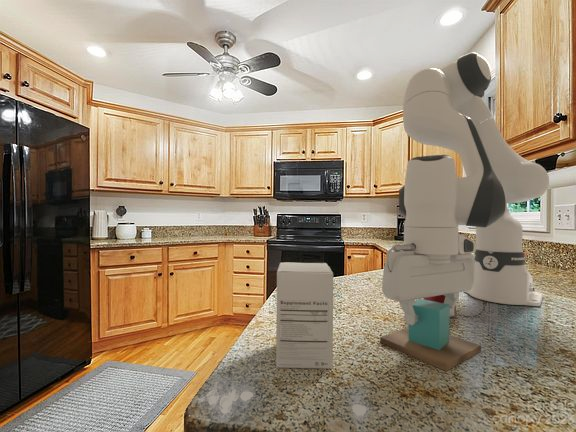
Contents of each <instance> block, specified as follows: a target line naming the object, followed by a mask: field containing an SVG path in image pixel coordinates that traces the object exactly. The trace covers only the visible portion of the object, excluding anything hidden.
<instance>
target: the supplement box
mask: <svg viewBox="0 0 576 432" xmlns="http://www.w3.org/2000/svg"><path fill="white" fill-rule="evenodd" d="M275 317H276V322H275V323H276V329H275V330H276V332H275V333H276V334H275V335H276V336H275V337H276V341H275V343H276V345H275V350H276V351H275V359H276V360H275V367H276V369H277V368H281V369H283V368H284V369H285V368H286V369H290V368H291V369H323V370H324V369H326V370H327V369H333V368H334V367H333V363H334V362H333V357H334V356H333V355H334V351H333V350H334V346H333V345H334V341H333V340H334V339H333V338H334V272H333V271H332V269H331V267H330V266H329V265H328V263H326V262H289V261H288V262H287V261H286V262H279V265H278V267H277V270H276V316H275Z"/></svg>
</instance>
